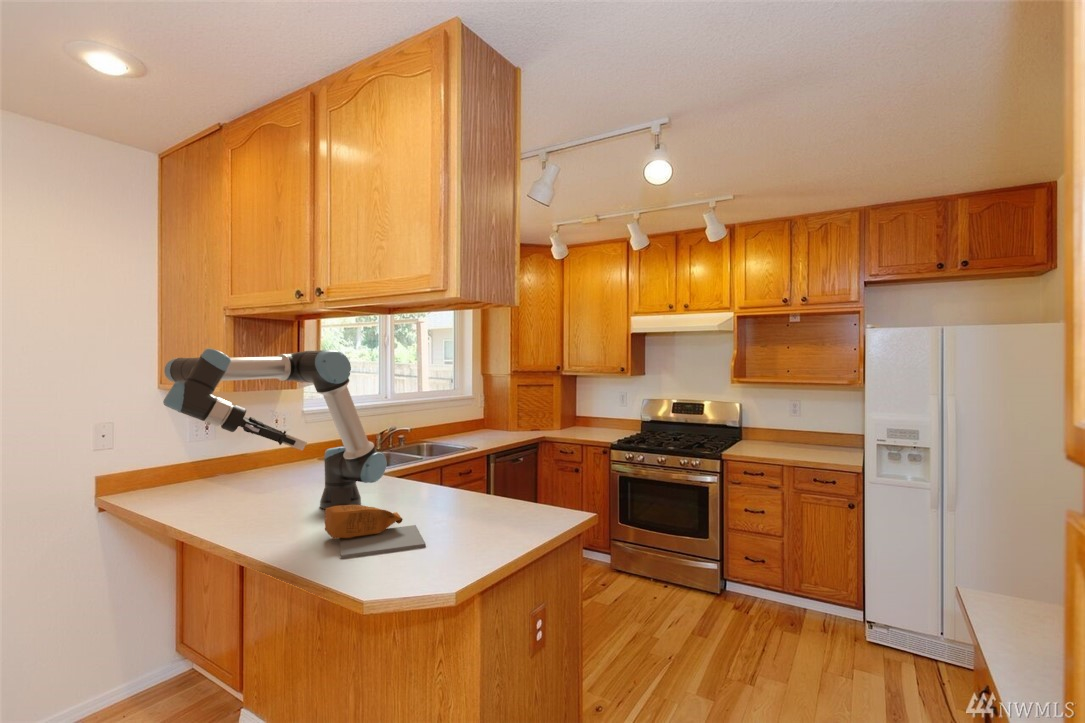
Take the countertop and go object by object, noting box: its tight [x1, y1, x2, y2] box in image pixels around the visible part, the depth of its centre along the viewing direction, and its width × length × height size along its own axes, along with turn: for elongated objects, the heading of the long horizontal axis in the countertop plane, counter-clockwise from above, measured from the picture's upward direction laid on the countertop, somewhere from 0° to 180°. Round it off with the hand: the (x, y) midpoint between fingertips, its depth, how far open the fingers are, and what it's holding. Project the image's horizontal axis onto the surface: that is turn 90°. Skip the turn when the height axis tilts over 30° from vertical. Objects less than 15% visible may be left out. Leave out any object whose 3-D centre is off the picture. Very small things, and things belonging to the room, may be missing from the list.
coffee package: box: [324, 504, 404, 540], centre depth 167 cm, size 10×12×22 cm
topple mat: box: [339, 524, 427, 559], centre depth 161 cm, size 20×24×1 cm
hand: (304, 446), depth 162 cm, fingers closed
